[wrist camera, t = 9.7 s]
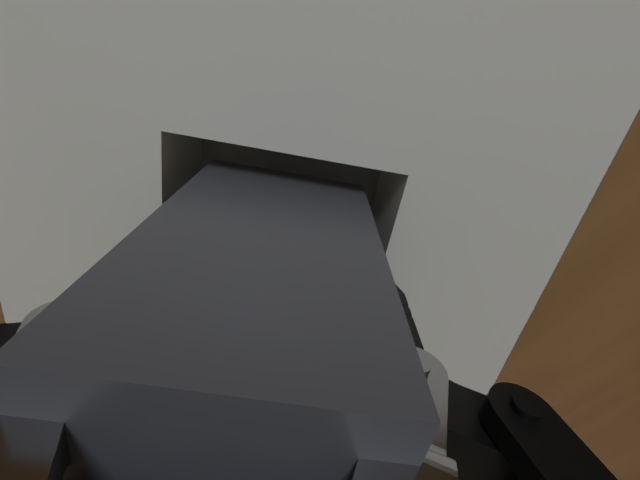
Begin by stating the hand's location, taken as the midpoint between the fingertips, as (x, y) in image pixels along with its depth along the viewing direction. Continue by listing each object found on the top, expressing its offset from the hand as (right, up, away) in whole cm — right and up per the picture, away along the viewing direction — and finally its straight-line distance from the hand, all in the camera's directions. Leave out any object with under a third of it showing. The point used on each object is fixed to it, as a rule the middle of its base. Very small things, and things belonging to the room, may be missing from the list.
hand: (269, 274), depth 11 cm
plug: (0, +1, +2) cm, 2 cm away
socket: (0, +3, +5) cm, 6 cm away
